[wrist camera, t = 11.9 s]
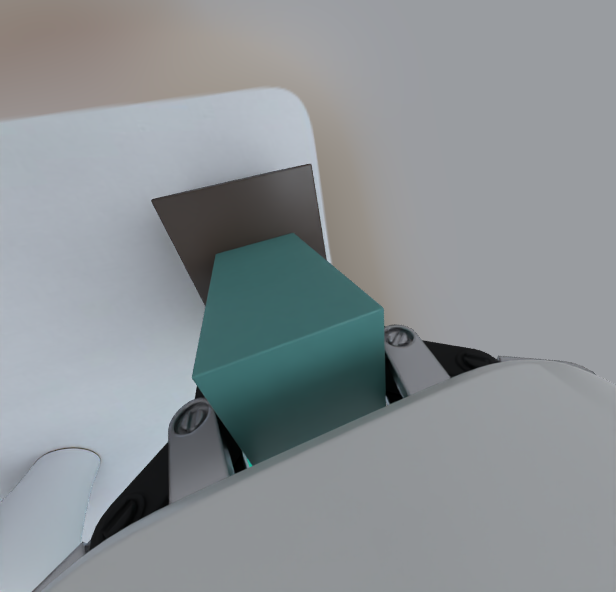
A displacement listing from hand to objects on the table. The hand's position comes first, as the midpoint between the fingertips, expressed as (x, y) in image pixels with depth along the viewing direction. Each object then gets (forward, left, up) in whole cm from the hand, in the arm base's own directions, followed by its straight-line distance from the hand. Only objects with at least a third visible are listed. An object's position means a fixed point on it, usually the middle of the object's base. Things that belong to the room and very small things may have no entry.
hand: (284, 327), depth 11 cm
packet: (0, 0, -4) cm, 4 cm away
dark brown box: (0, 0, -14) cm, 14 cm away
